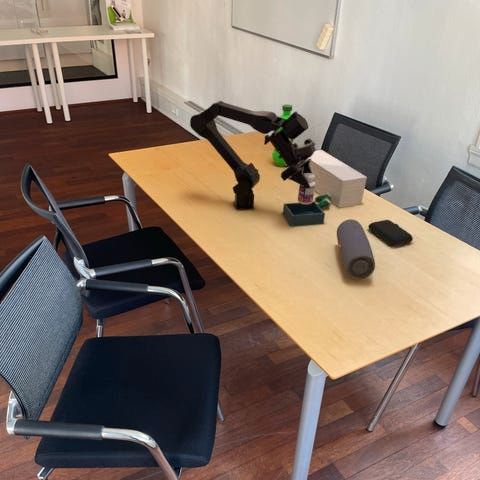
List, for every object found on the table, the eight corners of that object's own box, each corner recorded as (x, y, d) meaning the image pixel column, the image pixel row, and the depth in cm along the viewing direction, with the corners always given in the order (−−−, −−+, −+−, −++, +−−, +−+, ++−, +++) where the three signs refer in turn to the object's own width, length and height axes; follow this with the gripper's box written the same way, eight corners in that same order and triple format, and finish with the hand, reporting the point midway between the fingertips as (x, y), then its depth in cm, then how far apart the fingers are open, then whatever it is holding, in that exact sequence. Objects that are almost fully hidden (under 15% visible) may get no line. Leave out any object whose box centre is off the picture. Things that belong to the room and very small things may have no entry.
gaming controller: (318, 215, 177) (331, 206, 174) (312, 207, 176) (325, 198, 173) (320, 205, 184) (332, 196, 181) (314, 197, 183) (327, 188, 180)
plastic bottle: (266, 164, 212) (270, 106, 196) (278, 158, 219) (283, 101, 203) (285, 169, 208) (291, 110, 192) (297, 163, 214) (303, 105, 199)
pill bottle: (295, 198, 168) (298, 172, 162) (309, 197, 169) (313, 171, 163) (300, 205, 164) (304, 178, 158) (314, 204, 165) (318, 177, 159)
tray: (291, 226, 166) (292, 216, 163) (282, 213, 173) (283, 203, 171) (323, 223, 168) (325, 213, 166) (313, 211, 176) (314, 201, 173)
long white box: (296, 177, 201) (299, 152, 194) (317, 174, 205) (321, 149, 198) (338, 207, 179) (343, 180, 172) (361, 203, 182) (367, 177, 176)
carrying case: (416, 243, 159) (389, 224, 169) (419, 235, 157) (391, 216, 167) (391, 248, 155) (365, 229, 166) (393, 240, 153) (366, 221, 164)
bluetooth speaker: (332, 244, 156) (337, 217, 150) (359, 245, 156) (365, 218, 150) (341, 282, 139) (347, 253, 132) (372, 283, 139) (380, 254, 132)
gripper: (294, 140, 146) (322, 181, 150) (310, 125, 160) (336, 163, 163) (268, 161, 153) (296, 199, 157) (286, 144, 167) (311, 180, 171)
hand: (311, 184), depth 162 cm, fingers closed on pill bottle, 5 cm apart
